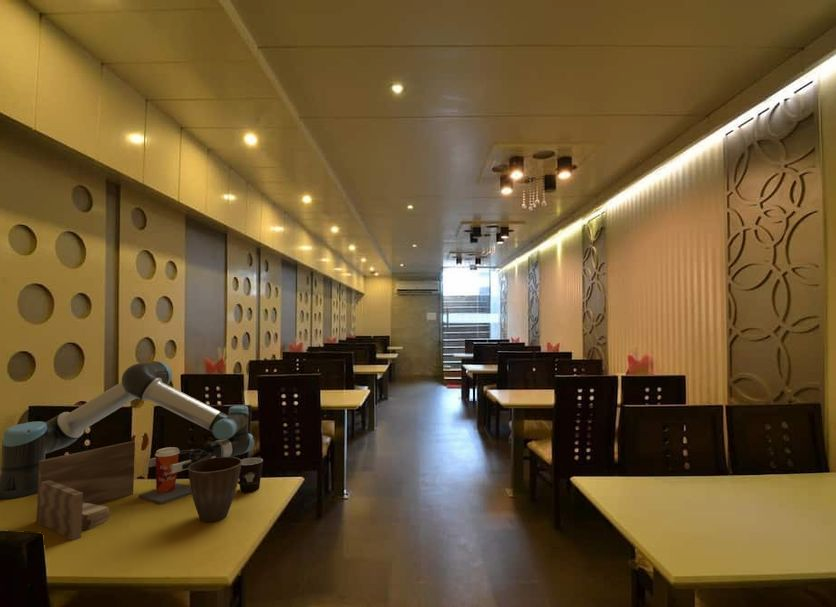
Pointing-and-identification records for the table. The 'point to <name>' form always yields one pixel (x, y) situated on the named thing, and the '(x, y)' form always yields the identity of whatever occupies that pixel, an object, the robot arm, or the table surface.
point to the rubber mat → (167, 494)
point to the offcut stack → (94, 515)
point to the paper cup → (166, 469)
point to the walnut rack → (82, 485)
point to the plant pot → (214, 486)
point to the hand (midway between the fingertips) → (160, 466)
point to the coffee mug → (250, 474)
